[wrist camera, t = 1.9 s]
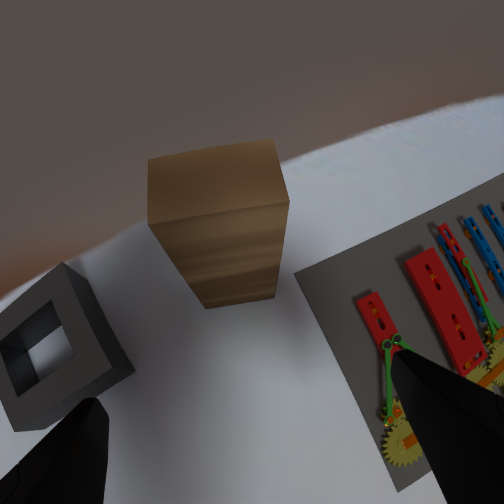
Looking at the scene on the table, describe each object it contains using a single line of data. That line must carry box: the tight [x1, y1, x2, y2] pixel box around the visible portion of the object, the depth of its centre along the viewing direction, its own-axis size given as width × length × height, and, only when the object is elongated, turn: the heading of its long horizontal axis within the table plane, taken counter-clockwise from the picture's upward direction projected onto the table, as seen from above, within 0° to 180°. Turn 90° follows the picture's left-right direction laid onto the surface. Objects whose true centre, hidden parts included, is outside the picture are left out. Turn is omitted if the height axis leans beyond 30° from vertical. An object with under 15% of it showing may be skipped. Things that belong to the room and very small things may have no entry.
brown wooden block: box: [148, 139, 290, 309], centre depth 17 cm, size 3×5×13 cm, turn 100°
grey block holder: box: [0, 262, 135, 432], centre depth 19 cm, size 9×11×4 cm
